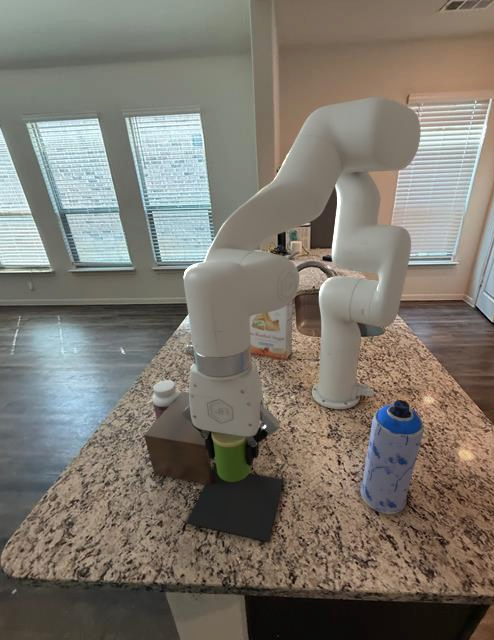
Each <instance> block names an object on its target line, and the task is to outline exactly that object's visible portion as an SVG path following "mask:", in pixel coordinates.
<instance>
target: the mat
mask: <svg viewBox="0 0 494 640" xmlns="http://www.w3.org/2000/svg"><path fill="white" fill-rule="evenodd" d="M212 476H213V481H212V483H211V484H209V483H206V484H204V486H203V488H202V490H201V492H200V495H199V496H198V498H197V501H196V502H195V504H194V506H193V508H192V510H191V512H190V514H189V516H188V518H187V520H186V522H185V523H186V524H187V525H190V526H195V527H197V528H204V529H208V530H212V531H216V532H221V533H225V534H229V535H234V536H237V537H238V536H239V537H242V538H247V539H252V540H255V541H259V542H264V543H269V540H270V537H271V532H272V529H273V525H274V520H275V516H276V513H277V509H278V506H279V505H278V503H279V502H280V497H281V493H282V489H283V485H284V479H283V478H279V477H272V476H267V475H262V474H256V473H251V472H250V473H249V474H248V475H247V476H246V477H245V478H244V479H242V480H240V481H236V482H228V481H225V480H223V479H221V478H220V477H219V475H218V473H217V466H214V467H213V468H212Z"/></svg>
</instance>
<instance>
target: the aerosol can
mask: <svg viewBox="0 0 494 640" xmlns="http://www.w3.org/2000/svg"><path fill="white" fill-rule="evenodd" d="M410 406H411V405H410V404H409V403H408V402H407V401H405V400H404V399H397V400H395V401H394V402H393V403H392V404H388V405H385V406H382V407H380V408H379V409H377V410H376V411H375V412H374V414H373V417H372V420H371V421H372V422H371V428H370V433H369V439H368V446H367V452H366V457H365V463H364V470H363V474H362V475H363V476H362V481H361V483H360V488H359V490H360V491H359V492H360V493H359V494H360V496H361V498H362V500H363V501H364V503H365V504H366V505H367V506H368V507H369V508H370V509H372V510H373V511H376V512H378V513H379V514H383V515H385V514H386V515H396V514H398V513H400V512H402V510H403V509H404V508H405V507H406V504H407V495H408V492H409V488H410V483H411V480H412V477H413V474H414V473H413V472H414V469H415V465H416V463H417V458H418V454H419V451H420V447H421V443H422V439H423V435H424V432H425V429H424V428H425V426H424V422H423V420H422V419H421V417H420V415H418V414H417V413H416V411H415V410H413V409H412V408H410Z"/></svg>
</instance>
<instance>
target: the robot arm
mask: <svg viewBox="0 0 494 640" xmlns="http://www.w3.org/2000/svg"><path fill="white" fill-rule="evenodd" d="M420 143H421V123H420V120H419V117H418V114H417V113H416V111H415V110H414V109H412V108H411V107H409V106H407V105H404V104H403V103H400V102H398V101H397V100H393V99H391V98H388V97H381V96H372V97H366V98H362V99H355V100H349V101H344V102H337V103H333V104H327V105H324V106H322V107H319V108H317V109H315V110H314V111H312V112H311V113H310V114H309V116H308V117H307V118H306V120H305V121H304V123H303V125H302V126H301V129H300V130H299V132H298V134H297V136H296V138H295V139H294V142H293V144H292V145H291V147H290V150H289V152H288V153H287V155H286V156H285V159H284V161H282V162H283V163H282V164H281V166H280V168H279V170H278V172H277V174H276V176H275V177H274V179H273V180H272V181H271V182H270V183H269V184H267V185H265V186H264V187H263V188H262V189H260V190H259V191H258V192H256V193H254V195H253V196H251V197H250V198H249V199H248V200H247V201H245V202H244V203H242V204H241V205H240V206H239V207H238V208H237V209H236V210H234V211H233V212H232V213H231V214H230V215H229V216H228V217H227V218H226V220H225V221H224V222H223V223H222V225H221V227H220V228H219V230H218V232H217V233H216V235H215V237H214V239H213V241H212V243H211V245H210V247H209V249H208V250H207V253H206V255H205V258H204V260H203V261H201V262H197V263H193V264H192V265H190V266H188V267H187V269H185V271H184V274H183V287H184V293H185V300H186V301H185V302H186V308H187V314H188V315H187V316H188V321H189V328H190V335H191V341H192V344H191V345H186V347H185V354H186V355H187V356H191V357H192V358H193V362H194V363H193V364H192V365H191V366H190V368H189V369H190V370H189V381H188V393H189V402H190V405H189V406H188V407H187V408H186V409H185V410H184V411H183V413H182V416H183V417H184V418H185V419H187V420H188V421H189V422H191V423H192V425H193V427H195V428H196V429H197V430H198V431H199V432H200V433H201V437H202V438H203V439H205V445H206V450H208V456H209V459H210V460H213V459H215V451H214V444H213V439H212V431H213V432H219V433H225V434H232V435H238V436H245V437H246V439H247V441H248V442H247V445H246V462H247V464H248V466H251V467H252V465H253V463H254V460H255V459H258V457H259V454H260V442H262V441H263V440H265V439H267V437H268V436H270V435H272V434H274V433H276V432H277V431H278V430H279V427H280V421H279V420H278V419H277V418H276V417H275V416H274V415H273V414H272V413H271V412H270V411H269V410H268V409H267V408H266V407H265V403H264V393H263V386H262V382H261V378H260V377H261V376H260V373H259V370H258V366H257V364H256V362H255V361H253V359H252V353H251V339H250V320H249V319H250V317H251V316H252V315H256V314H261V313H266V312H271V311H275V310H279V309H281V308H283V307H285V306H286V305H287V304H289V303H290V302H291V301H292V302H293V301H294V298H295V297H296V296H297V294H298V290H299V287H300V273H299V270H298V267H297V266H296V265H295V263H294V262H293V261H291V260H290V259H289V258H288V257H286V256H285V255H281V254H276V253H270V252H262V251H256V249H257V248H258V247H259V246H260V245H262V244H263V243H264V242H266V241H267V240H269V239H271V238H273V237H275V236H277V235H279V234H282V233H285V232H287V231H291V230H293V229H294V230H295V229H296V228H299V227H301V226H304V225H306V224H309V223H310V222H312V221H315V220H316V219H317V218H318V217H319V216H321V215H322V214H323V212H324V210H325V208H326V206H327V204H328V202H329V200H330V197H331V195H332V193H333V191H334V189H335V192H336V198H337V199H336V202H337V204H336V212H335V221H334V228H333V229H334V230H333V237H332V245H331V261H332V264H333V265H334V266H335V267H337V268H339V269H342V270H346V271H352V272H359V273H366V274H375V275H377V276H378V280H374V279H369V278H361V277H356V276H355V277H354V276H348V275H333V276H331V277H329V278H327V279H325V280H324V282H323V283H322V284H321V285H320V289H319V292H318V305H319V311H320V323H321V327H320V328H321V330H320V346H319V347H320V348H319V365H318V379H317V381H318V382H316V383H315V384H314V385H313V386H312V388H311V396H312V399H313V400H314V401H315V402H316V403H317V404H319V405H320V406H322V407H325V408H328V409H332V410H347V409H351V408H353V407H355V406H356V405H357V404H358V403H359V402H360V399H361V396H363V397H370V398H373V397H374V394H375V390H374V388H373V389H372V388H369V384H366V383H360V382H358V377H357V376H358V375H357V374H358V367H359V361H360V360H359V359H360V351H361V345H362V334H361V330H360V326H359V325H358V324H363V325H368V326H373V327H376V328H377V327H378V328H386V327H389V326H390V325H392V324H393V323H394V322H395V320H396V318H397V316H398V313H399V310H400V306H401V301H402V296H403V291H404V287H405V282H406V277H407V272H408V267H409V263H410V257H411V251H412V250H411V249H412V239H411V238H412V237H411V234H410V233H409V231H408V230H407V229H406V228H405V227H403V226H400V225H393V224H379V223H378V221H379V213H380V207H381V201H382V200H381V193H380V190H379V189H378V186H377V184H376V182H375V180H374V179H373V177H372V176H371V174H370V173H371V172H372V173H373V172H393V171H402V170H404V169H405V168H407V167H409V165H410V164H411V163H412V162H413V160H414V158H415V157H416V155H417V153H418V150H419V147H420ZM261 423H263V425H261V426H260V424H261Z"/></svg>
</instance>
